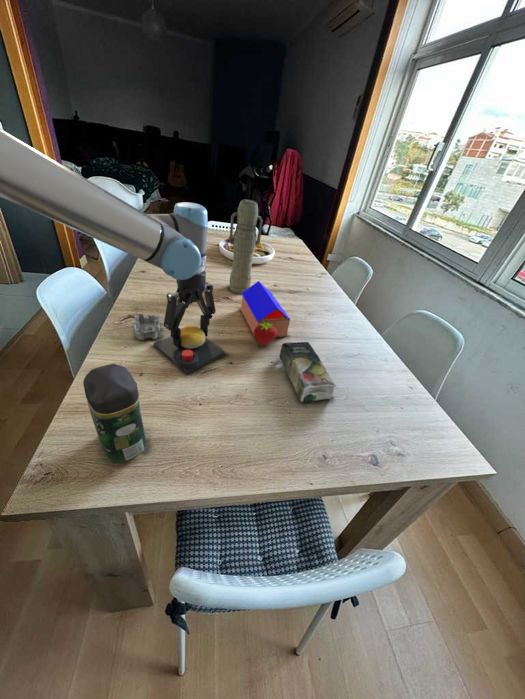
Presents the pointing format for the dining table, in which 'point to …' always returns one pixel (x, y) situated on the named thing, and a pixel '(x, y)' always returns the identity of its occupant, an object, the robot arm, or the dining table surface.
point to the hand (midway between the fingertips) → (190, 340)
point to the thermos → (244, 244)
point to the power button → (187, 355)
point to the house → (263, 309)
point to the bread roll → (192, 337)
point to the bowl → (260, 254)
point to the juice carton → (306, 372)
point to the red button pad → (200, 354)
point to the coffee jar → (115, 411)
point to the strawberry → (265, 333)
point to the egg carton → (147, 326)
